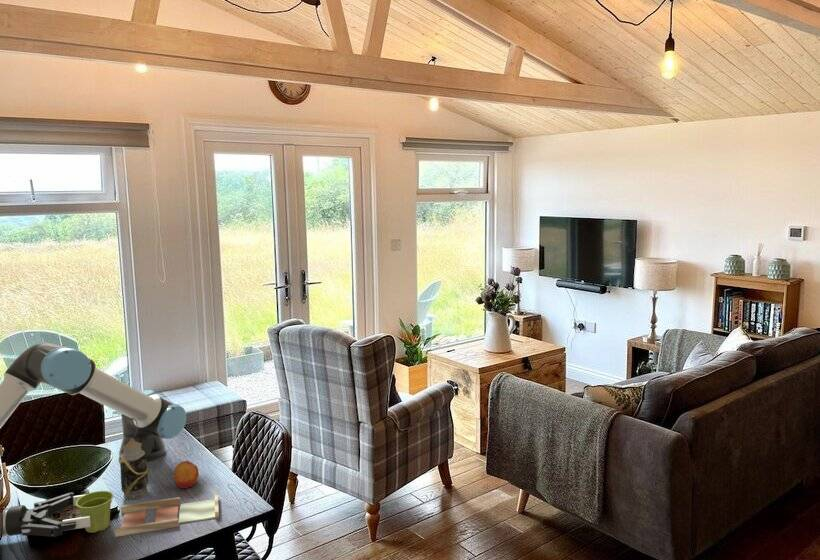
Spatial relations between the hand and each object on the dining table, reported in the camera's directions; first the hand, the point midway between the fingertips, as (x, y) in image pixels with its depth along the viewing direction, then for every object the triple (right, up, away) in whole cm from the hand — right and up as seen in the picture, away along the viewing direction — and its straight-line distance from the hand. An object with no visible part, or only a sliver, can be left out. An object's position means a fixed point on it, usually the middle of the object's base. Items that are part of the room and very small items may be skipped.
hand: (94, 508), depth 175 cm
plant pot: (0, -6, +1) cm, 6 cm away
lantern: (+3, -3, +20) cm, 20 cm away
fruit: (+17, -2, +25) cm, 31 cm away
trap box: (+18, -5, +7) cm, 20 cm away
